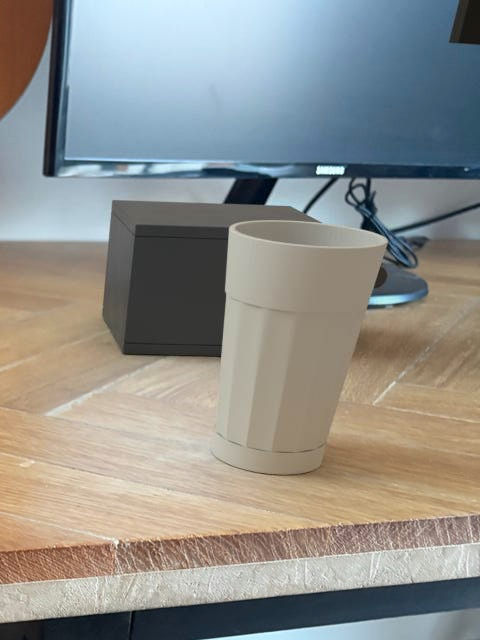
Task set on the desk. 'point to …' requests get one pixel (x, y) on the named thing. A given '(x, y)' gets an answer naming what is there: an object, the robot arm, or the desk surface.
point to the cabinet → (173, 273)
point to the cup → (289, 338)
